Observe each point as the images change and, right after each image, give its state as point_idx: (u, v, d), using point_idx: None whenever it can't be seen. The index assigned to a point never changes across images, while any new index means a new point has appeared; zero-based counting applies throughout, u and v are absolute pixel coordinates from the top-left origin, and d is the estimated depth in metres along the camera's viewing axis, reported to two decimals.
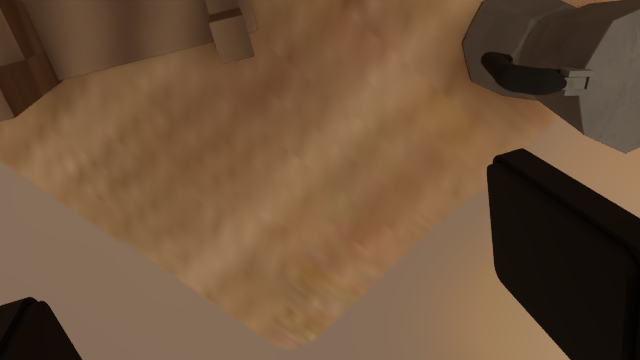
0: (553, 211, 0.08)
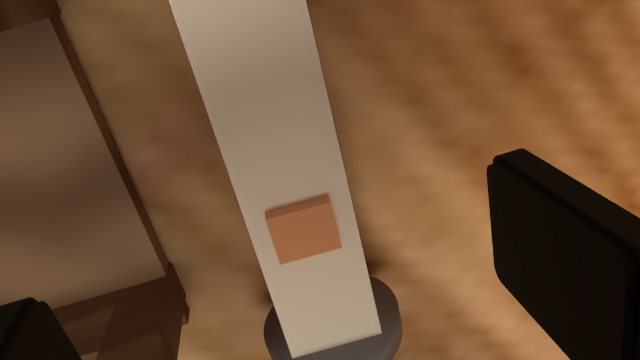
0: (553, 211, 0.08)
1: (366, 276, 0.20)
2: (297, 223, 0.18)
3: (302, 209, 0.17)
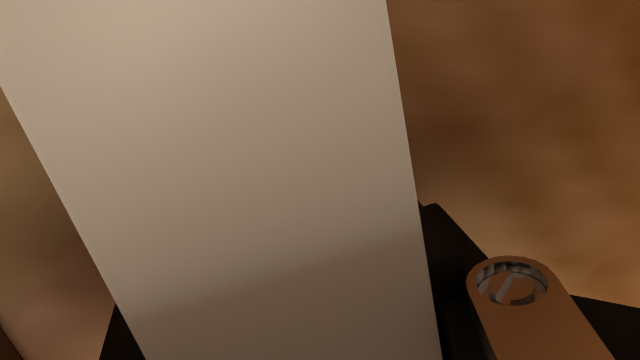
0: None
1: None
2: None
3: None
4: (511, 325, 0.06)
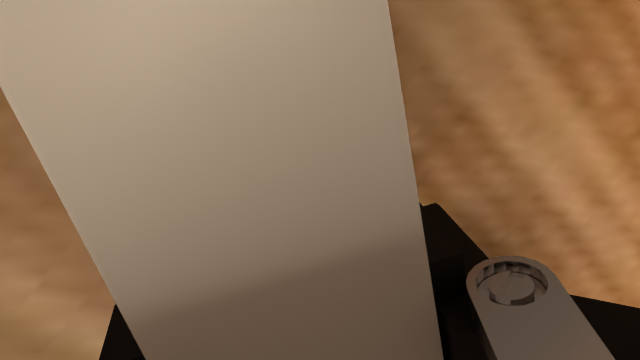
0: None
1: None
2: None
3: None
4: (511, 325, 0.06)
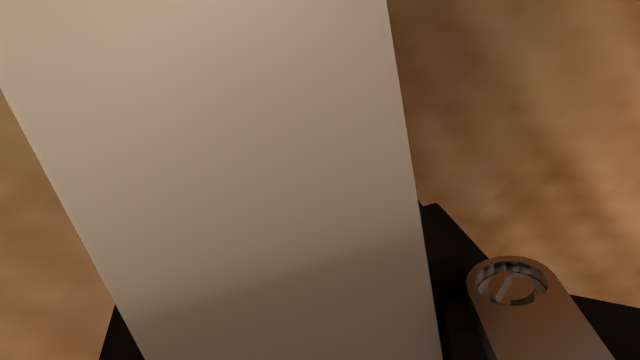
0: None
1: None
2: None
3: None
4: (511, 325, 0.06)
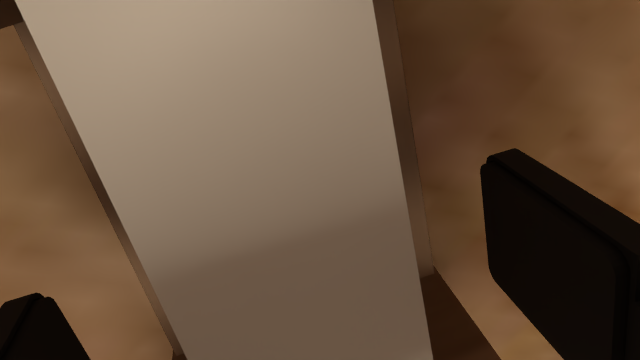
0: (544, 210, 0.08)
1: None
2: None
3: None
4: None
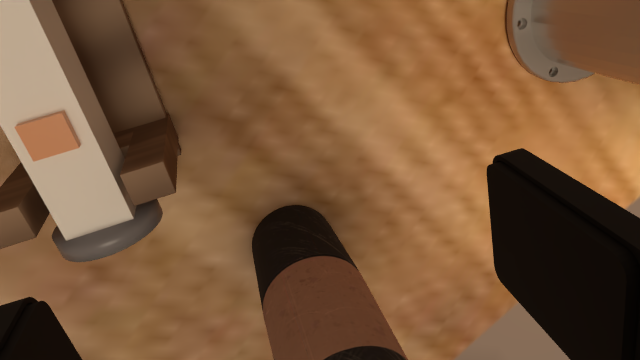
0: (553, 211, 0.08)
1: (109, 173, 0.28)
2: (39, 129, 0.25)
3: (41, 119, 0.25)
4: None
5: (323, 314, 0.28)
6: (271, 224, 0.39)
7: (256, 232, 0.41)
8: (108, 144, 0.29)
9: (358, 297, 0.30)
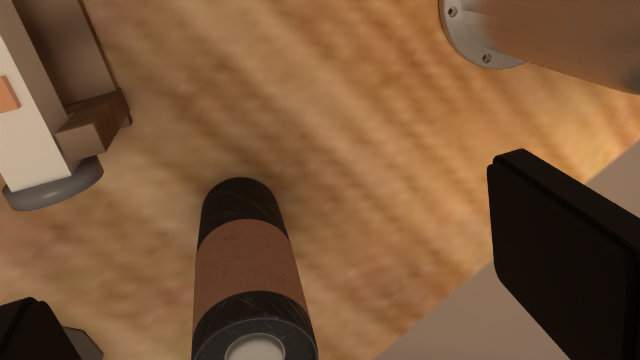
0: (553, 211, 0.08)
1: (48, 133, 0.31)
2: None
3: None
4: None
5: (233, 265, 0.32)
6: (216, 193, 0.43)
7: (204, 201, 0.44)
8: (51, 109, 0.33)
9: (270, 253, 0.33)
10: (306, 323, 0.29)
